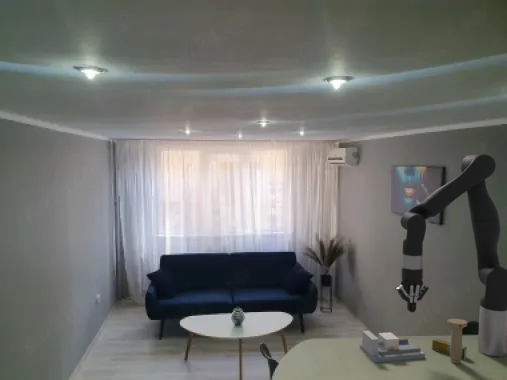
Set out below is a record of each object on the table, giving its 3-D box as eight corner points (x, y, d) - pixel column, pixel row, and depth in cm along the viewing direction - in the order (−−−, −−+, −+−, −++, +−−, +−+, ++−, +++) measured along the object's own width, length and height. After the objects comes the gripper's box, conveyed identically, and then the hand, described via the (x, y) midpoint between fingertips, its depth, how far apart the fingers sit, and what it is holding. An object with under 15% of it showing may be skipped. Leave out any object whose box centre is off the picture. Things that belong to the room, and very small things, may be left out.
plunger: (390, 345, 167) (390, 332, 167) (401, 354, 159) (402, 341, 159) (370, 346, 166) (371, 333, 165) (381, 356, 158) (381, 342, 157)
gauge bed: (407, 344, 172) (407, 325, 172) (424, 357, 161) (425, 337, 160) (359, 347, 168) (360, 328, 168) (374, 362, 157) (374, 341, 156)
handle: (467, 365, 155) (469, 323, 154) (449, 365, 155) (451, 323, 154) (461, 359, 160) (463, 318, 159) (443, 358, 160) (445, 318, 159)
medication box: (467, 357, 161) (467, 347, 161) (464, 359, 160) (464, 349, 159) (434, 347, 170) (434, 337, 170) (431, 349, 168) (431, 339, 168)
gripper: (422, 262, 168) (421, 306, 170) (390, 264, 166) (390, 309, 167) (434, 267, 161) (433, 313, 162) (401, 269, 158) (400, 316, 160)
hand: (411, 311), depth 165 cm, fingers closed
